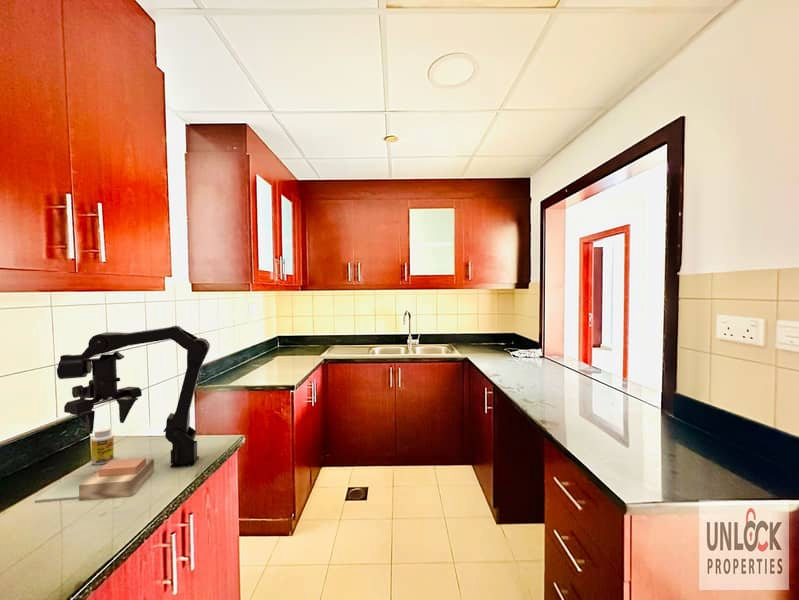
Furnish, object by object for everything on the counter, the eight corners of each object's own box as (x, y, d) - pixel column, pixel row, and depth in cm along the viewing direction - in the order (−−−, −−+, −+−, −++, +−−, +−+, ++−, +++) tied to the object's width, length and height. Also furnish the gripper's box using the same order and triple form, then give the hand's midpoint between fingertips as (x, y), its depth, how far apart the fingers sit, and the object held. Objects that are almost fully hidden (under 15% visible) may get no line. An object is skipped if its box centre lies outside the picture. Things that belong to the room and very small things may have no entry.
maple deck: (153, 472, 116) (153, 458, 116) (130, 495, 102) (130, 480, 102) (108, 475, 113) (108, 461, 113) (79, 500, 100) (79, 485, 100)
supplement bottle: (95, 467, 119) (94, 434, 119) (89, 462, 122) (88, 430, 122) (116, 460, 123) (116, 429, 123) (110, 456, 127) (109, 425, 127)
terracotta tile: (145, 464, 112) (145, 457, 112) (135, 474, 106) (135, 466, 106) (110, 467, 110) (110, 460, 110) (98, 477, 104) (98, 469, 104)
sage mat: (104, 477, 112) (104, 475, 112) (79, 498, 101) (79, 496, 101) (65, 480, 110) (65, 478, 110) (34, 502, 99) (34, 500, 99)
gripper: (116, 368, 125) (117, 416, 126) (49, 381, 107) (51, 437, 108) (142, 369, 122) (143, 418, 122) (77, 383, 104) (79, 440, 105)
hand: (106, 428), depth 114 cm, fingers open, 9 cm apart
